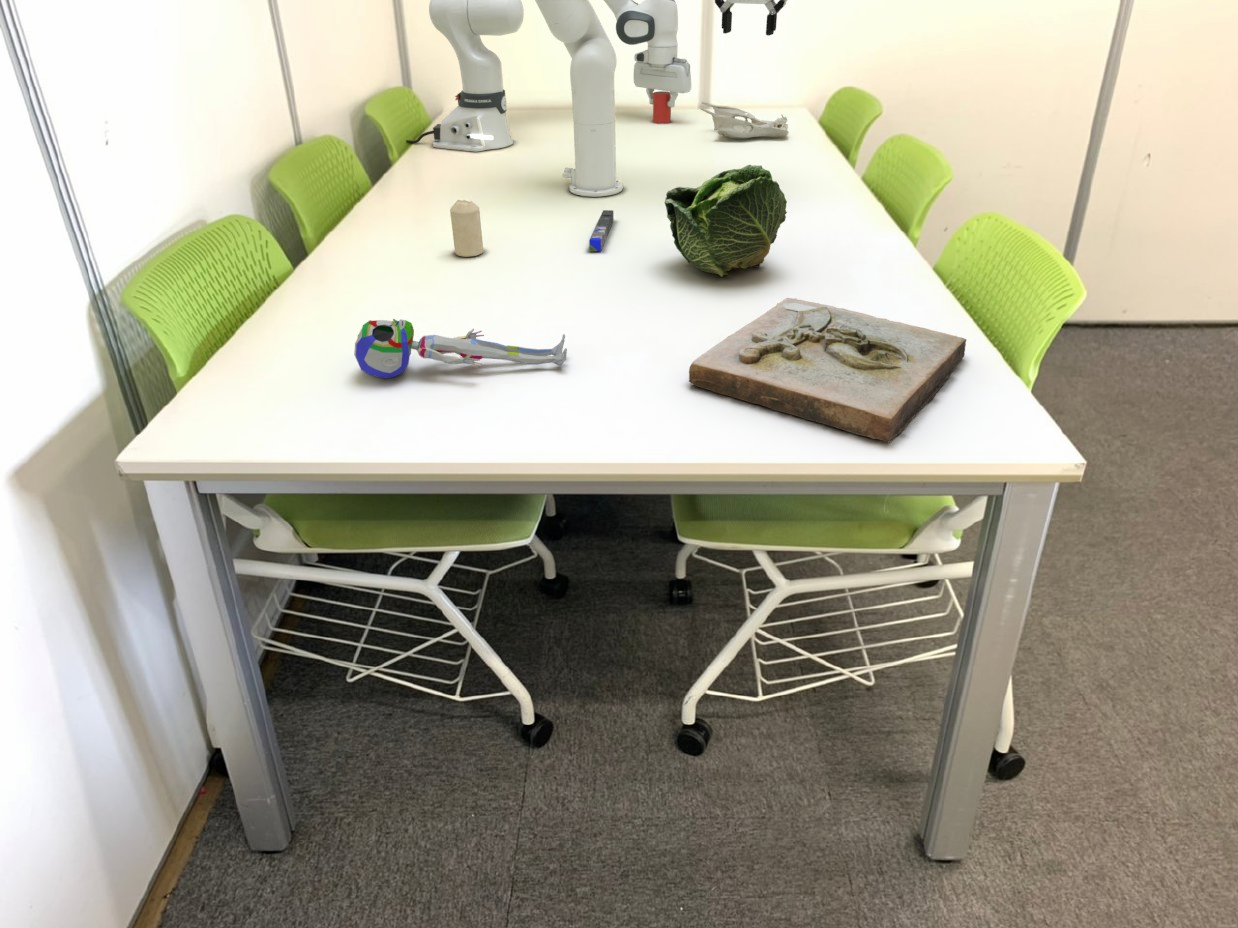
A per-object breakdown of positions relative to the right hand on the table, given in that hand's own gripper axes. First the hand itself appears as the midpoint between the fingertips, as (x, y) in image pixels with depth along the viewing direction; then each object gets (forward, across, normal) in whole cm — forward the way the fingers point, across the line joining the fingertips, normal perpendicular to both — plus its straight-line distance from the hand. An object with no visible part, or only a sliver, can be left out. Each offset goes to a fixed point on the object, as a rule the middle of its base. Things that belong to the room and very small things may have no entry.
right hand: (748, 33), depth 192 cm
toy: (+33, +3, +106) cm, 111 cm away
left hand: (+29, +48, -62) cm, 84 cm away
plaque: (+33, -45, +84) cm, 101 cm away
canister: (+33, +48, -62) cm, 85 cm away
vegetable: (+33, -16, +51) cm, 63 cm away
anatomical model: (+33, +18, -52) cm, 64 cm away
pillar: (+33, +14, +43) cm, 56 cm away
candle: (+33, +32, +63) cm, 78 cm away
